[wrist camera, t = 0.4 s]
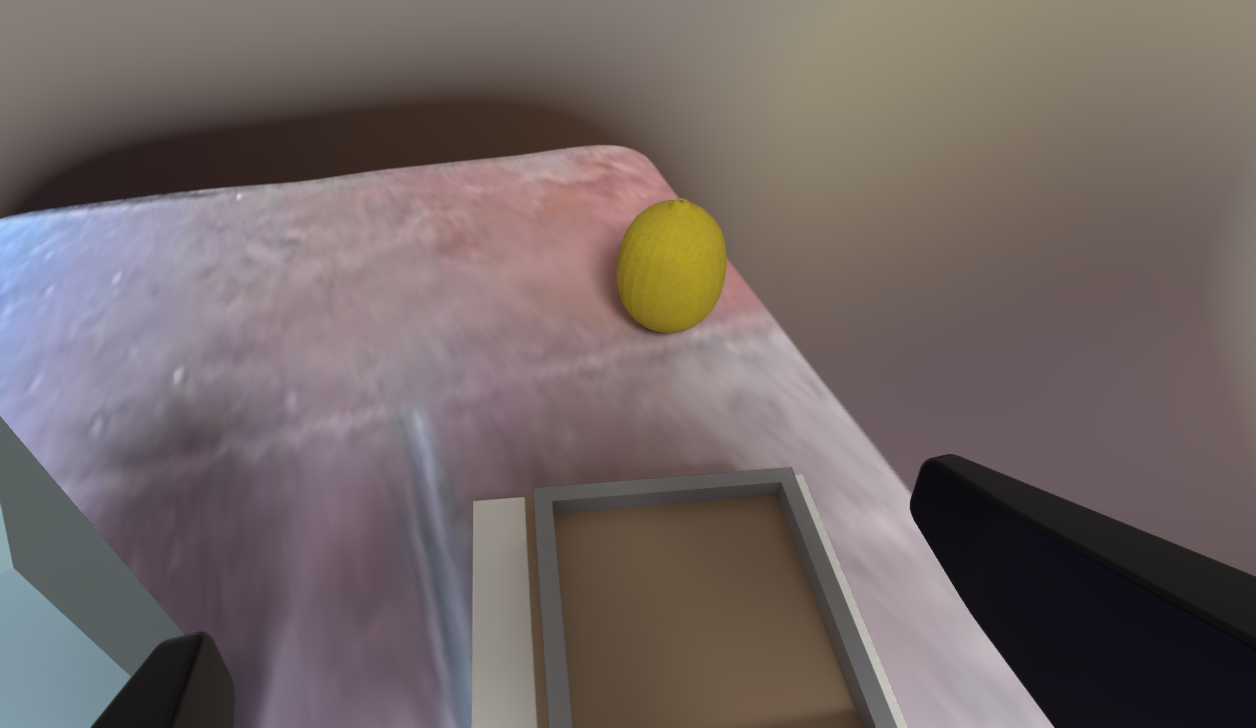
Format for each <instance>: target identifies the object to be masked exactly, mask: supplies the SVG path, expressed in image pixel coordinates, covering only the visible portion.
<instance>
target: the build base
mask: <svg viewBox="0 0 1256 728" xmlns="http://www.w3.org/2000/svg"><path fill="white" fill-rule="evenodd" d="M524 496H525V497H518V498H506V499H493V500H481V501H473V610H472V728H908V727H907V724H906V722H905V720H904V717H903V715H902V712H901V710H900V708H899V705H898V703H897V700H896V698H895V696H894V693H893V691H892V688H891V686H890V684H889V681H888V679H887V676H886V674H885V672H884V669H883V667H882V664H881V662H880V660H879V657H878V655H877V652H876V650H875V648H874V645H873V643H872V640H871V638H870V636H869V633H868V631H867V628H866V626H865V624H864V621H863V619H862V616H861V614H860V612H859V609H858V607H857V604H856V602H855V600H854V597H853V595H852V592H851V590H850V588H849V585H848V583H847V580H846V578H845V576H844V573H843V571H842V568H841V566H840V564H839V561H838V559H837V556H836V554H835V552H834V549H833V547H832V544H831V542H830V540H829V537H828V535H827V532H826V530H825V528H824V525H823V523H822V520H821V518H820V516H819V513H818V511H817V508H816V506H815V504H814V501H813V499H812V496H811V494H810V492H809V489H808V487H807V484H806V482H805V480H804V477H803V475H802V474H801V475H795V474H794V472H793V469H792V467H790V468H777V469H765V470H752V471H740V472H727V473H714V474H702V475H689V476H677V477H664V478H651V479H639V480H626V481H613V482H601V483H588V484H576V485H563V486H550V487H538V488H533V494H529V495H524Z"/></svg>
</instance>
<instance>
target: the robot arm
mask: <svg viewBox="0 0 1256 728" xmlns="http://www.w3.org/2000/svg"><path fill="white" fill-rule="evenodd" d="M910 511H911V514H912V517H913V519H914V521H915V523H916V524H917V526H918V528H919V529H920V531H921V533H922V534H923V536H924V538H925V539H926V541H927V543H928V544H929V546H930V548H931V549H932V551H933V553H934V554H935V556H936V558H937V559H938V561H939V562H940V564H941V566H942V567H943V569H944V571H945V572H946V574H947V576H948V577H949V579H950V581H951V582H952V584H953V586H954V587H955V589H956V591H957V592H958V594H959V596H960V597H961V599H962V600H963V602H964V604H965V605H966V607H967V608H968V610H969V611H970V613H971V614H972V616H973V617H974V619H975V620H976V621H977V623H978V624H979V626H980V627H981V629H982V630H983V631H984V633H985V634H986V635H987V637H988V638H989V639H990V641H991V642H992V644H993V645H994V646H995V648H996V649H997V650H998V652H999V653H1000V654H1001V656H1002V657H1003V658H1004V660H1005V661H1006V663H1007V664H1008V665H1009V667H1010V668H1011V669H1012V671H1013V672H1014V673H1015V675H1016V676H1017V677H1018V679H1019V680H1020V682H1021V683H1022V684H1023V686H1024V687H1025V688H1026V690H1027V691H1028V692H1029V694H1030V695H1031V697H1032V698H1033V699H1034V701H1035V702H1036V703H1037V705H1038V706H1039V707H1040V709H1041V710H1042V711H1043V713H1044V714H1045V716H1046V717H1047V718H1048V720H1049V721H1050V722H1051V724H1052V725H1053V726H1054V728H1256V576H1253V575H1251V574H1248V573H1246V572H1243V571H1241V570H1238V569H1236V568H1234V567H1231V566H1229V565H1226V564H1224V563H1221V562H1219V561H1216V560H1214V559H1211V558H1209V557H1206V556H1204V555H1202V554H1199V553H1197V552H1194V551H1191V550H1189V549H1187V548H1184V547H1182V546H1179V545H1177V544H1174V543H1172V542H1169V541H1167V540H1165V539H1162V538H1160V537H1157V536H1155V535H1152V534H1150V533H1147V532H1145V531H1142V530H1140V529H1137V528H1135V527H1133V526H1130V525H1128V524H1125V523H1123V522H1120V521H1118V520H1115V519H1113V518H1110V517H1108V516H1105V515H1103V514H1100V513H1098V512H1096V511H1093V510H1091V509H1088V508H1086V507H1083V506H1081V505H1078V504H1076V503H1073V502H1071V501H1068V500H1066V499H1063V498H1061V497H1059V496H1056V495H1054V494H1051V493H1049V492H1046V491H1044V490H1041V489H1039V488H1036V487H1034V486H1031V485H1029V484H1026V483H1024V482H1022V481H1019V480H1017V479H1014V478H1011V477H1009V476H1007V475H1004V474H1002V473H999V472H997V471H994V470H992V469H990V468H987V467H985V466H982V465H980V464H977V463H975V462H972V461H970V460H967V459H965V458H962V457H960V456H957V455H953V454H947V455H942V456H938V457H934V458H929V459H927V460H926V461H924V463H923V464H922V465H921V468H920V471H919V474H918V477H917V480H916V484H915V487H914V490H913V493H912V496H911V499H910ZM234 703H235V695H234V686H233V681H232V678H231V675H230V673H229V671H228V669H227V667H226V665H225V663H224V661H223V659H222V656H221V654H220V652H219V650H218V648H217V646H216V644H215V642H214V640H213V638H212V637H211V636H210V635H209V634H208V633H207V632H195V633H191V634H187V635H183V636H178V637H174V638H170V639H167V640H164V641H163V642H161V643H160V644H159V645H157V646H156V647H155V648H154V649H153V651H152V652H151V653H150V654H149V655H148V657H147V658H146V659H145V660H144V662H143V663H142V664H141V665H140V667H139V668H138V669H137V670H136V671H135V673H134V674H133V675H132V676H131V678H130V679H129V680H128V681H127V683H126V684H125V685H124V686H123V687H122V689H121V690H120V691H119V692H118V694H117V695H116V696H115V697H114V699H113V700H112V701H111V702H110V703H109V705H108V706H107V707H106V708H105V710H104V711H103V712H102V713H101V715H100V716H99V717H98V718H97V720H96V721H95V722H94V723H93V724H92V726H91V727H90V728H233V726H234Z"/></svg>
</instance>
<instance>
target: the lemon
mask: <svg viewBox="0 0 1256 728" xmlns="http://www.w3.org/2000/svg"><path fill="white" fill-rule="evenodd" d="M725 274H726V249H725V243H724V238H723V235H722V232H721V230H720V228H719V226H718V225H717V223H716V222H715V220H714V219H713V218H712V217H711V216H710V215H709V214H708V213H707V212H706V211H705V210H704V209H702V208H700V207H699V206H697V205H695V204H693V203H690V202H688V201H687V200H685V199H682V198H678V199H675V200H668V201H663V202H659V203H657V204H654V205H652V206H650V207H648V208H647V209H645V210H644V211H643V212H641V213H640V214H639V215H638V216H637V217H636V218H635V219H634V221H633V222H632V223H631V225H630V226H629V228H628V230H627V232H626V234H625V236H624V239H623V241H622V244H621V247H620V252H619V256H618V261H617V269H616V279H617V286H618V291H619V295H620V299H621V301H622V303H623V305H624V307H625V308H626V310H627V311H628V313H629V314H630V315H631V317H632V318H633V319H635V320H636V321H637V322H638V323H639V324H641V325H642V326H644V327H646V328H647V329H650V330H653V331H656V332H661V333H676V332H682V331H685V330H687V329H690V328H692V327H694V326H696V325H697V324H698V323H700V322H701V321H702V320H704V319H705V318H706V317H707V316H708V314H709V313H710V312H711V310H712V309H713V308H714V306H715V305H716V303H717V301H718V299H719V297H720V294H721V291H722V288H723V284H724V279H725Z"/></svg>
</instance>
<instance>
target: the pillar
mask: <svg viewBox="0 0 1256 728" xmlns="http://www.w3.org/2000/svg"><path fill="white" fill-rule="evenodd" d="M183 635H185V634H184V633H183V632H182V630H181V629H180V628H179V627H178V626H177V625H176V623H175V622H174V621H173V620H172V619H171V617H170V616H169V615H168V614H167V613H166V612H165V610H164V609H163V608H162V607H161V606H160V604H159V603H158V602H157V601H156V600H155V599H154V597H153V596H152V595H151V594H150V593H149V592H148V590H147V589H146V588H145V587H144V586H143V584H142V583H141V582H140V581H139V580H138V579H137V577H136V576H135V575H134V574H133V573H132V571H131V570H130V569H129V568H128V567H127V566H126V564H125V563H124V562H123V561H122V560H121V558H120V557H119V556H118V555H117V554H116V553H115V551H114V550H113V549H112V548H111V547H110V545H109V544H108V543H107V542H106V541H105V540H104V538H103V537H102V536H101V535H100V534H99V532H98V531H97V530H96V529H95V528H94V527H93V525H92V524H91V523H90V522H89V521H88V519H87V518H86V517H85V516H84V515H83V514H82V512H81V511H80V510H79V509H78V508H77V506H76V505H75V504H74V503H73V502H72V501H71V499H70V498H69V497H68V496H67V495H66V493H65V492H64V491H63V490H62V489H61V488H60V486H59V485H58V484H57V483H56V482H55V480H54V479H53V478H52V477H51V476H50V475H49V473H48V472H47V471H46V470H45V469H44V467H43V466H42V465H41V464H40V463H39V462H38V460H37V459H36V458H35V457H34V456H33V454H32V453H31V452H30V451H29V450H28V449H27V447H26V446H25V445H24V444H23V443H22V441H21V440H20V439H19V438H18V437H17V436H16V434H15V433H14V432H13V431H12V430H11V428H10V427H9V426H8V425H7V424H6V423H5V421H4V420H3V419H2V418H1V417H0V728H90V727H91V726H92V724H93V723H94V722H95V721H96V720H97V718H98V717H99V716H100V715H101V713H102V712H103V711H104V710H105V708H106V707H107V706H108V705H109V703H110V702H111V701H112V700H113V699H114V697H115V696H116V695H117V694H118V692H119V691H120V690H121V689H122V687H123V686H124V685H125V684H126V683H127V681H128V680H129V679H130V678H131V676H132V675H133V674H134V673H135V671H136V670H137V669H138V668H139V667H140V665H141V664H142V663H143V662H144V660H145V659H146V658H147V657H148V655H149V654H150V653H151V652H152V651H153V649H154V648H155V647H156V646H157V645H159V644H160V643H161V642H163V641H164V640H167V639H170V638H174V637H178V636H183Z"/></svg>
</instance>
